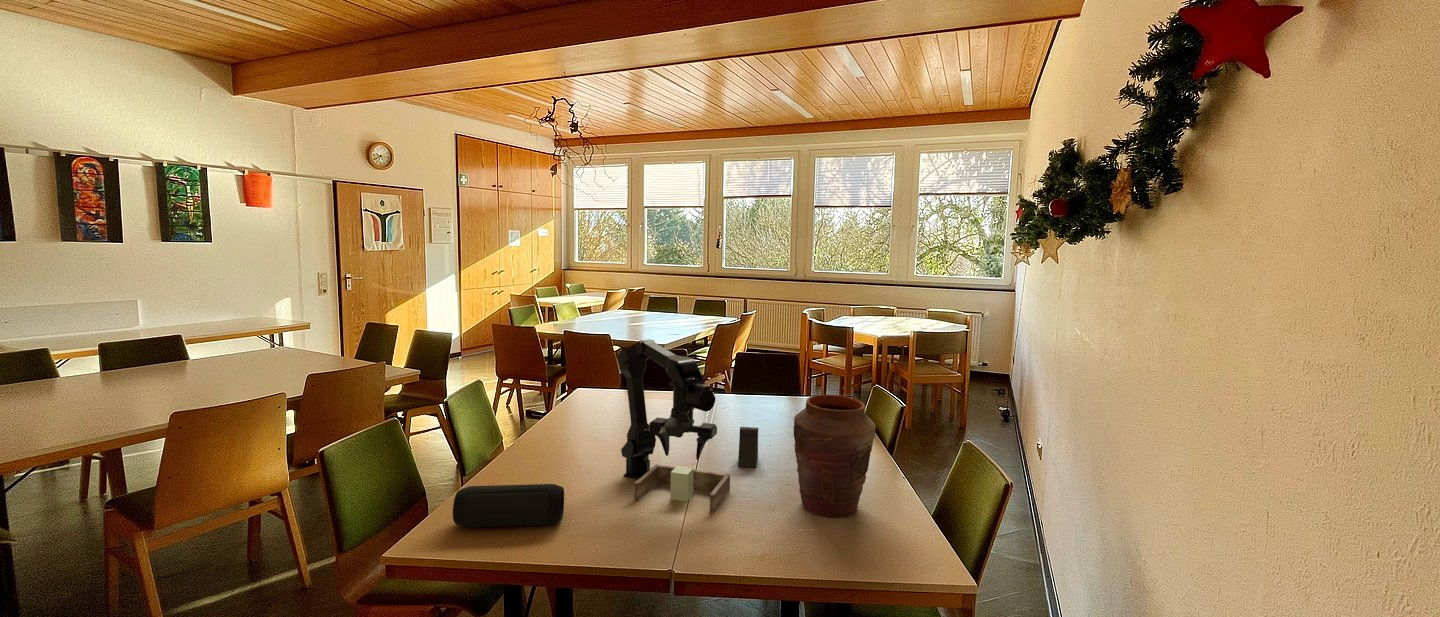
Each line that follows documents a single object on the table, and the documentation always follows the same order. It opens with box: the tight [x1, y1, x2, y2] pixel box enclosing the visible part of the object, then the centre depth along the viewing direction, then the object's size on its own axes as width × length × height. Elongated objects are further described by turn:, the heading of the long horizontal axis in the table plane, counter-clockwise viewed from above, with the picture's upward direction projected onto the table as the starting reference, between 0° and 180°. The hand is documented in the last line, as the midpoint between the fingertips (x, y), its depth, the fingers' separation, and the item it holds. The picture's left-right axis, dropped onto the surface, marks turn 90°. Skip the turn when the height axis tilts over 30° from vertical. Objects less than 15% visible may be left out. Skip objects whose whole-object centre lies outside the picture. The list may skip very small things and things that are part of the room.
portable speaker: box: [452, 483, 565, 529], centre depth 150 cm, size 26×10×10 cm, turn 97°
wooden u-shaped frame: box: [633, 463, 731, 514], centre depth 170 cm, size 23×15×5 cm, turn 73°
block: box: [669, 465, 695, 503], centre depth 169 cm, size 5×5×8 cm
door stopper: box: [737, 426, 759, 469], centre depth 197 cm, size 9×6×12 cm, turn 172°
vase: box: [793, 394, 877, 519], centre depth 163 cm, size 23×22×30 cm
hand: (682, 457), depth 168 cm, fingers open, 9 cm apart
